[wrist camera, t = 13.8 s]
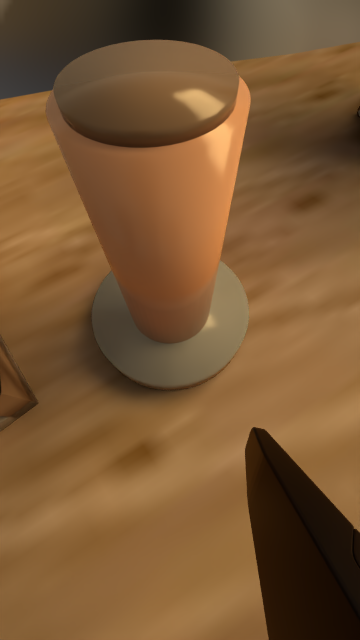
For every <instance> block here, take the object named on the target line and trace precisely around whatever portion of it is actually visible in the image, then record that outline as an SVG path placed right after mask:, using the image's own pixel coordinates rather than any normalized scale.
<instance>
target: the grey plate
mask: <svg viewBox="0 0 360 640" xmlns="http://www.w3.org/2000/svg"><path fill="white" fill-rule="evenodd" d="M248 321H249V306H248V300H247V296H246V293H245V290H244V288H243V286H242V284H241V282H240V281H239V279H238V278H237V276H236V275H235V274H234V273H233V271H232V270H231V269H230V268H229V267H228V266H227V265H225V264H224V263H223V262H222V261H220V262H219V267H218V272H217V277H216V282H215V287H214V292H213V297H212V302H211V308H210V313H209V317H208V320H207V322H206V324H205V325H204V327H203V328H202V329H201V331H200V332H199V333H197V334H196V335H195V336H193V337H192V338H190V339H188V340H186V341H183V342H179V343H171V344H170V343H160V342H157V341H154V340H152V339H149V338H148V337H146V336H145V335H144V334H142V333H141V332H140V331H139V329H138V328H137V327H136V325H135V323H134V321H133V319H132V316H131V314H130V312H129V309H128V307H127V305H126V302H125V300H124V298H123V295H122V293H121V290H120V288H119V286H118V283H117V281H116V279H115V276H114V274H113V272H112V271H111V272H110V273H109V274H108V275H107V276H106V277H105V279H104V280H103V282H102V283H101V285H100V287H99V289H98V291H97V293H96V296H95V299H94V302H93V307H92V327H93V332H94V336H95V339H96V341H97V343H98V345H99V348H100V349H101V351H102V352H103V354H104V355H105V356H106V358H107V359H108V360H109V361H110V362H111V363H112V364H113V365H114V366H115V367H116V368H117V369H118V370H119V371H120V372H121V373H122V374H123V375H125V376H126V377H127V378H129V379H130V380H132V381H134V382H136V383H138V384H140V385H143V386H145V387H149V388H153V389H158V390H181V389H187V388H191V387H194V386H197V385H200V384H202V383H204V382H207V381H208V380H210V379H211V378H213V377H215V376H216V375H217V374H219V373H220V372H221V371H222V370H223V369H224V368H225V367H226V366H227V365H228V364H229V363H230V361H231V360H232V358H233V357H234V356H235V354H236V352H237V350H238V349H239V347H240V345H241V343H242V341H243V339H244V337H245V334H246V331H247V327H248Z"/></svg>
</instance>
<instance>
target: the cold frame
mask: <svg viewBox="0 0 360 640" xmlns="http://www.w3.org/2000/svg"><path fill="white" fill-rule="evenodd" d="M0 376H1V395H0V431H2V430H3V429H4V428H6V427H7V426H8V425H10V424H11V423H12V422H14V421H15V420H16V419H18V418H19V417H21V416H22V415H23V414H25V413H26V412H27V411H29V410H30V409H31V408H33V407H34V406H35V405H37V404H38V401H37V399H36V398H35V396H34V394H33V392H32V390H31V389H30V387H29V385H28V383H27V382H26V380H25V378H24V376H23V374H22V373H21V371H20V369H19V367H18V366H17V364H16V362H15V360H14V359H13V357H12V355H11V353H10V351H9V350H8V348H7V346H6V344H5V343H4V341H3V339H2V337H1V336H0Z"/></svg>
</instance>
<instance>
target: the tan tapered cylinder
mask: <svg viewBox="0 0 360 640" xmlns="http://www.w3.org/2000/svg"><path fill="white" fill-rule="evenodd" d="M53 88H54V89H53V91H52V92H51V94H50V96H49V97H48V100H47V104H46V115H47V119H48V122H49V124H50V126H51V129H52V131H53V133H54V136H55V138H56V140H57V143H58V145H59V147H60V150H61V152H62V155H63V157H64V159H65V162H66V164H67V166H68V169H69V171H70V173H71V176H72V178H73V180H74V183H75V185H76V187H77V190H78V192H79V194H80V197H81V199H82V201H83V204H84V206H85V208H86V211H87V213H88V215H89V218H90V220H91V223H92V225H93V227H94V230H95V232H96V234H97V237H98V239H99V241H100V244H101V246H102V248H103V251H104V253H105V255H106V258H107V260H108V262H109V265H110V267H111V269H112V272H113V274H114V276H115V279H116V281H117V283H118V286H119V288H120V290H121V293H122V295H123V298H124V300H125V302H126V305H127V307H128V309H129V312H130V314H131V316H132V319H133V321H134V323H135V325H136V327H137V328H138V329H139V331H140V332H141V333H142V334H144V335H145V336H146V337H148V338H149V339H152V340H154V341H157V342H160V343H170V344H171V343H179V342H183V341H186V340H188V339H190V338H192V337H193V336H195V335H196V334H197V333H199V332H200V331H201V329H202V328H203V327H204V325H205V324H206V322H207V320H208V317H209V313H210V308H211V302H212V297H213V292H214V287H215V282H216V277H217V272H218V267H219V262H220V256H221V251H222V246H223V241H224V236H225V231H226V226H227V221H228V216H229V210H230V205H231V200H232V195H233V190H234V185H235V180H236V175H237V170H238V164H239V159H240V154H241V149H242V144H243V139H244V134H245V129H246V124H247V118H248V113H249V108H250V101H251V98H250V92H249V90H248V87H247V85H246V84H245V82H244V81H243V80H242V79H241V78H240V77H239V74H238V72H237V69H236V68H235V66H234V65H233V64H232V63H231V62H230V61H229V60H228V59H227V58H225V57H224V56H223V55H221V54H219V53H217V52H215V51H213V50H211V49H208V48H206V47H202V46H199V45H195V44H191V43H186V42H180V41H171V40H141V41H132V42H125V43H119V44H114V45H110V46H107V47H103V48H100V49H97V50H94V51H91V52H89V53H87V54H85V55H83V56H81V57H79V58H77V59H75V60H74V61H72V62H71V63H70V64H68V65H67V66H66V67H65V68H64V69H63V70H62V71H61V72H60V73H59V75H58V76H57V78H56V80H55V83H54V87H53Z"/></svg>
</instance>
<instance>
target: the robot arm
mask: <svg viewBox="0 0 360 640" xmlns="http://www.w3.org/2000/svg"><path fill="white" fill-rule="evenodd" d="M0 395H1V376H0ZM245 461H246V481H247V499H248V508H249V515H250V521H251V528H252V534H253V541H254V547H255V553H256V560H257V566H258V573H259V579H260V586H261V592H262V599H263V605H264V612H265V618H266V624H267V631H268V637H269V640H360V533H359V531H358V530H357V529H354V527H353V525H352V524H351V523H350V522H349V521H348V520H347V518H346V517H345V516H344V515H343V514H342V513H341V512H340V511H339V510H338V509H337V508H336V506H335V505H334V504H333V503H332V502H331V501H330V500H329V499H328V498H327V497H326V496H325V494H324V493H323V492H322V491H321V490H320V489H319V488H318V487H317V486H316V485H315V484H314V482H313V481H312V480H311V479H310V478H309V477H308V476H307V475H306V474H305V473H304V472H303V470H302V469H301V468H300V467H299V466H298V465H297V464H296V463H295V462H294V461H293V459H292V458H291V457H290V456H289V455H288V454H287V453H286V452H285V451H284V450H283V449H282V447H281V446H280V445H279V444H278V443H277V442H276V441H275V440H274V439H273V438H272V437H271V435H270V434H269V433H268V432H267V431H266V430H264V429H261V428H256V427H253V428H252V429H251V431H250V435H249V438H248V441H247V444H246V448H245Z"/></svg>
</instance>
